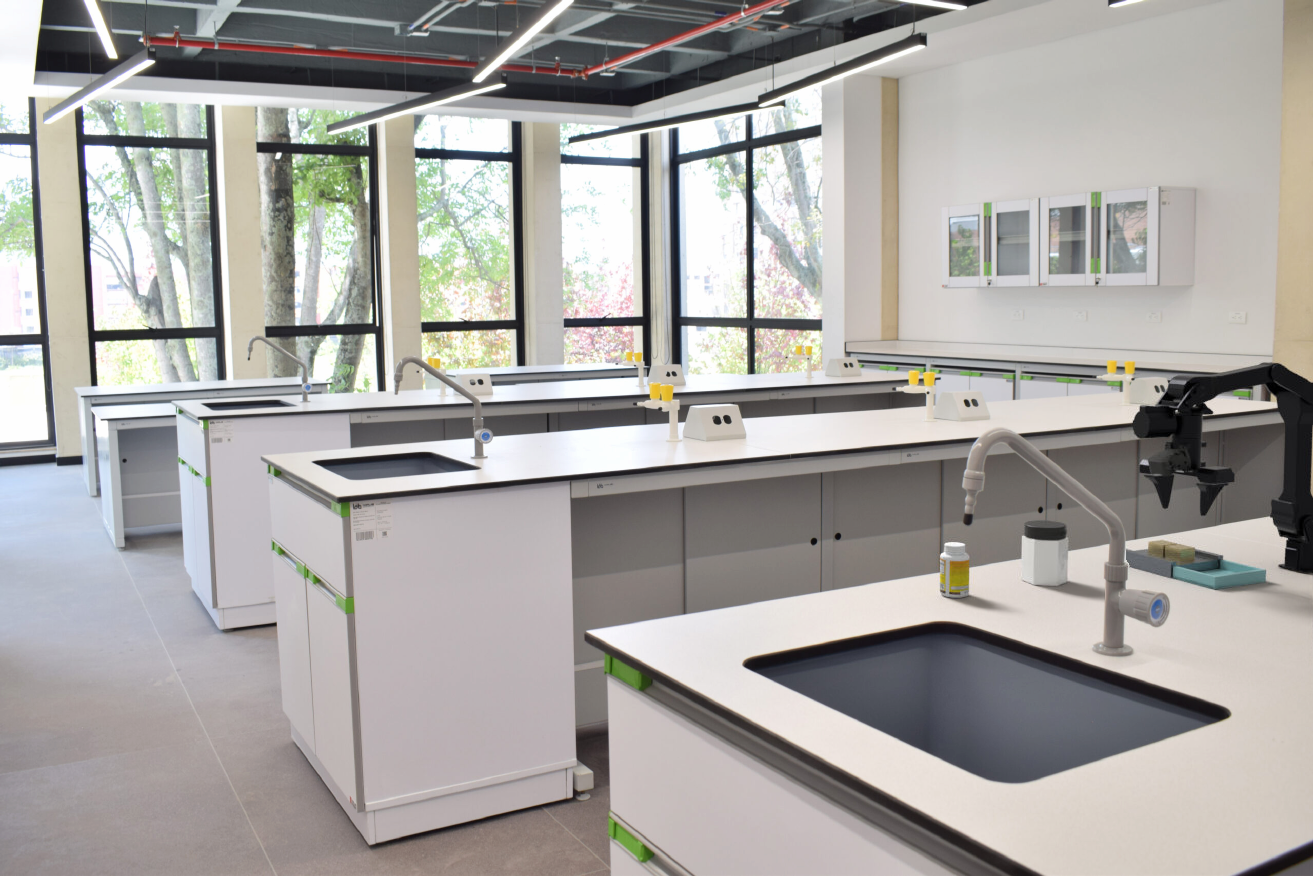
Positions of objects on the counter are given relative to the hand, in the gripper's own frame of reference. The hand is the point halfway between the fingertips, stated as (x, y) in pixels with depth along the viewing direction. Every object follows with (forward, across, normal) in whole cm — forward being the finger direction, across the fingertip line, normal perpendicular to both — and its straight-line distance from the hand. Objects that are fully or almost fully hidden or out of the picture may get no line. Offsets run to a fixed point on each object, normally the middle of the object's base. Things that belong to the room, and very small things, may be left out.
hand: (1183, 512), depth 216 cm
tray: (+14, +6, +4) cm, 15 cm away
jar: (+14, -10, -28) cm, 32 cm away
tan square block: (+11, -8, +4) cm, 14 cm away
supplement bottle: (+14, -9, -51) cm, 53 cm away
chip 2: (+11, -4, +4) cm, 12 cm away
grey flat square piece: (+14, -6, +4) cm, 16 cm away
